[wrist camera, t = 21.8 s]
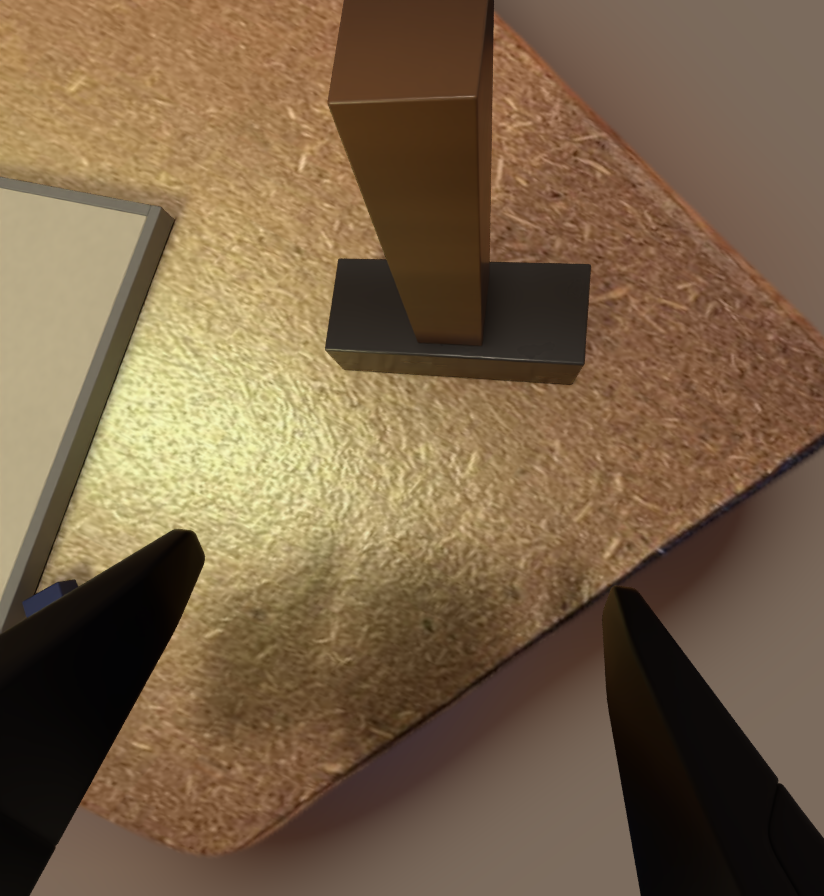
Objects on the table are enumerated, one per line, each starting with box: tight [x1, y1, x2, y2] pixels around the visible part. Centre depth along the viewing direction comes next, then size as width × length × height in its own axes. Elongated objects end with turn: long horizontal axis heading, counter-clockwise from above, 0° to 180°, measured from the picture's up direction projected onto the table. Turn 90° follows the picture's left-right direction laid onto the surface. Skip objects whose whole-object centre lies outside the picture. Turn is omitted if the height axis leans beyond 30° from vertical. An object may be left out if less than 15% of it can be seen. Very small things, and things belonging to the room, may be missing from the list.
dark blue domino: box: [22, 580, 78, 618], centre depth 21 cm, size 4×2×1 cm, turn 28°
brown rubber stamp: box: [325, 0, 591, 384], centre depth 14 cm, size 4×10×13 cm, turn 83°
